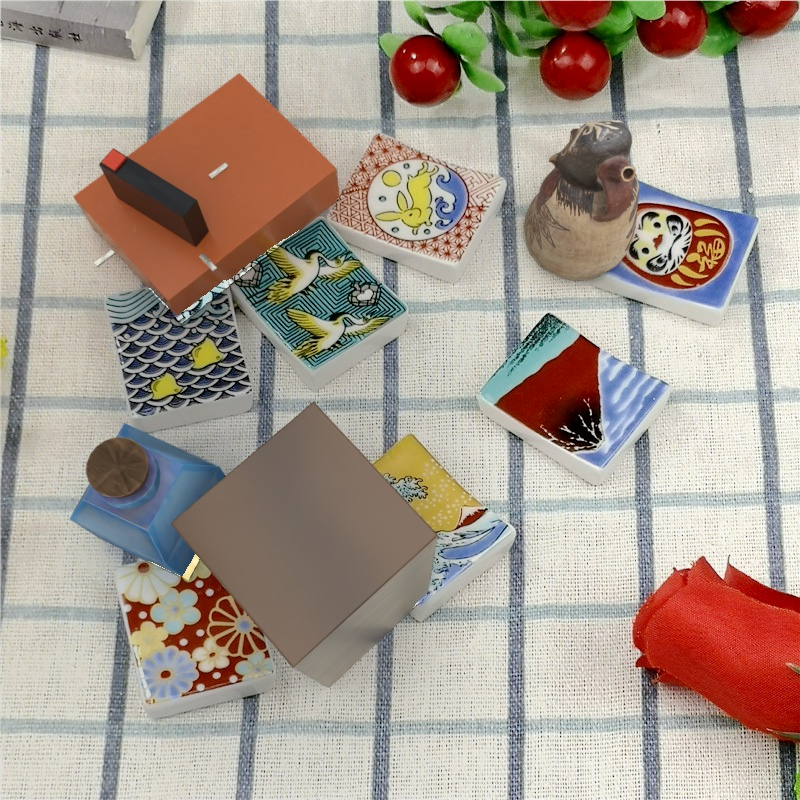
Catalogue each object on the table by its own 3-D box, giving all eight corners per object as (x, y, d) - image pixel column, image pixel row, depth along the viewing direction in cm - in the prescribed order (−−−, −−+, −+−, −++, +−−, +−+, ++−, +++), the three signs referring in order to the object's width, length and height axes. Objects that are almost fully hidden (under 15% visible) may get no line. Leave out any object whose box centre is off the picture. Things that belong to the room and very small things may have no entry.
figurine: (609, 179, 70) (649, 71, 59) (643, 269, 68) (691, 175, 56) (511, 203, 69) (531, 99, 58) (542, 294, 67) (570, 205, 56)
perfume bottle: (236, 491, 63) (199, 438, 52) (188, 581, 61) (140, 547, 50) (149, 451, 64) (94, 390, 53) (100, 539, 62) (33, 496, 51)
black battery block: (209, 231, 64) (196, 197, 60) (196, 247, 64) (182, 215, 60) (129, 181, 65) (111, 145, 61) (116, 197, 65) (97, 162, 61)
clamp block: (162, 346, 66) (147, 322, 62) (65, 238, 69) (45, 208, 65) (343, 202, 70) (340, 170, 66) (244, 104, 72) (235, 67, 68)
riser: (328, 688, 59) (292, 668, 40) (242, 587, 61) (169, 522, 42) (428, 596, 61) (438, 535, 42) (340, 500, 63) (313, 400, 44)
